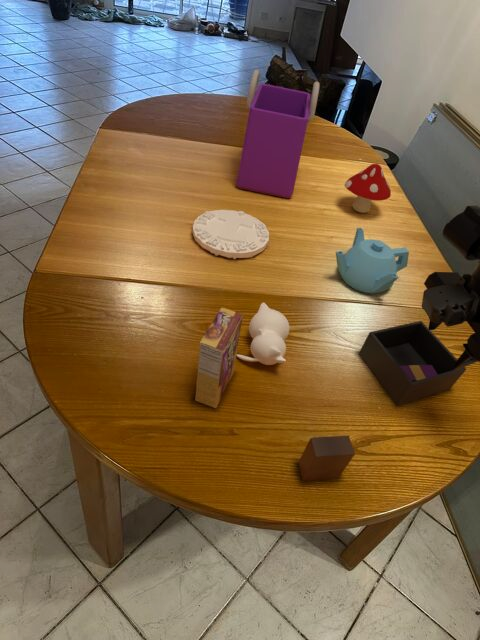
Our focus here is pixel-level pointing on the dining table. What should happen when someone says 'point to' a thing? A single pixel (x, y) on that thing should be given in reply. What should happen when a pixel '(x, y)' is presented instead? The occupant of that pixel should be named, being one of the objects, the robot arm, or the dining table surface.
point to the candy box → (217, 356)
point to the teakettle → (370, 264)
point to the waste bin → (409, 361)
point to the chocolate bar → (419, 371)
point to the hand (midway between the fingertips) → (443, 348)
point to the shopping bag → (274, 137)
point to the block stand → (325, 458)
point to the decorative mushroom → (368, 187)
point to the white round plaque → (230, 233)
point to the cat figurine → (268, 336)
